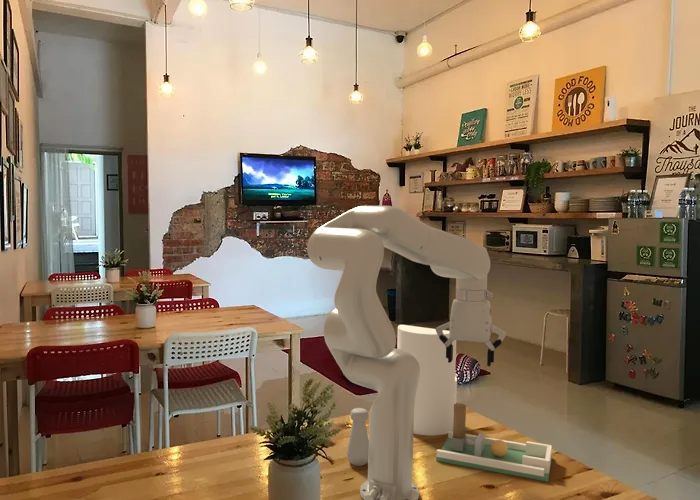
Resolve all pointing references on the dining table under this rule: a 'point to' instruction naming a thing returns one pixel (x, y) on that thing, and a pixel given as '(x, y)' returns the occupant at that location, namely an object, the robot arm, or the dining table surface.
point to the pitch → (502, 458)
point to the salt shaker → (358, 438)
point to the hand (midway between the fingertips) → (469, 363)
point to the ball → (499, 448)
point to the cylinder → (431, 379)
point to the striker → (459, 433)
